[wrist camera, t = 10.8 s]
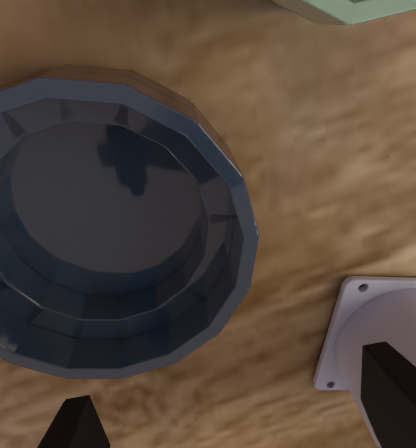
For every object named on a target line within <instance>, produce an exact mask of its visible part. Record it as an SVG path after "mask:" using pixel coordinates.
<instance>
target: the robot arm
mask: <svg viewBox="0 0 416 448" xmlns="http://www.w3.org/2000/svg"><path fill="white" fill-rule="evenodd" d="M361 284H364V285H363V286H362V287H359V286H360V285H361ZM358 287H359V288H358ZM313 384H314V386H315V388H316V389H318V390H349V391H350V393H351V395H352V397H353V399H354V401H355V403H356V405H357V407H358V409H359V411H360V413H361V415H362V417H363V419H364V421H365V423H366V425H367V427H368V429H369V431H370V433H371V435H372V437H373V439H374V441H375V443H376V445H377V447H378V448H416V278H407V277H376V276H350V277H347V278H346V279H345V280H344V281H343V283H342V285H341V289H340V292H339V295H338V299H337V302H336V305H335V309H334V312H333V315H332V319H331V322H330V325H329V329H328V332H327V335H326V339H325V342H324V345H323V348H322V352H321V355H320V358H319V362H318V365H317V368H316V372H315V375H314V378H313ZM37 448H110V443H109V441H108V438H107V436H106V434H105V431H104V429H103V427H102V424H101V422H100V419H99V417H98V415H97V412H96V410H95V408H94V405H93V403H92V400H91V398H90V396H89V395H87V396H82V397H76V398H71V399H66V400H65V401H64V403H63V404H62V406H61V408H60V409H59V411H58V413H57V414H56V416H55V418H54V420H53V421H52V423H51V425H50V427H49V428H48V430H47V432H46V434H45V435H44V437H43V439H42V440H41V442H40V444H39V445H38V447H37Z"/></svg>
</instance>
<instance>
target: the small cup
mask: <svg viewBox="0 0 416 448" xmlns="http://www.w3.org/2000/svg"><path fill="white" fill-rule="evenodd" d="M270 1H271V2H273V3H275V4H277V5H279V6H282V7H285V8H287V9H289V10H291V11H293V12H294V13H296V14H298V15H300V16H302V17H304V18H306V19H308V20H310V21H311V22H313V23H315V24H328V25H353V24H357V23H361V22H365V21H369V20H373V19H377V18H381V17H386V16H390V15H394V14H398V13H402V12H406V11H410V10H414V9H416V0H270Z"/></svg>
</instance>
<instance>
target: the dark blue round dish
mask: <svg viewBox="0 0 416 448" xmlns="http://www.w3.org/2000/svg"><path fill="white" fill-rule="evenodd" d="M258 239H259V232H258V228H257V224H256V221H255V217H254V213H253V210H252V206H251V202H250V199H249V195H248V192H247V188H246V184H245V181H244V177H243V175H242V173H241V171H240V169H239V167H238V165H237V163H236V161H235V159H234V157H233V155H232V153H231V151H230V149H229V147H228V145H227V144H226V143H225V142H224V140H223V139H222V138H221V137H220V135H219V134H218V133H217V132H216V131H215V129H214V128H213V127H212V126H211V125H210V123H209V122H208V121H207V120H206V118H205V117H204V116H203V115H202V114H201V112H200V111H199V110H198V109H197V107H196V106H195V105H194V104H193V103H192V102H191V101H190V100H188V99H186V98H185V97H183V96H181V95H179V94H177V93H175V92H173V91H171V90H170V89H168V88H166V87H164V86H162V85H160V84H158V83H156V82H155V81H153V80H151V79H149V78H147V77H145V76H143V75H141V74H139V73H138V72H135V71H133V70H124V69H113V68H103V67H92V66H82V65H71V64H68V65H63V66H60V67H57V68H54V69H52V70H49V71H46V72H43V73H40V74H37V75H34V76H31V77H28V78H25V79H22V80H19V81H16V82H13V83H10V84H7V85H5V86H3V87H0V358H1V359H2V360H4V361H6V362H7V361H8V363H11V364H15V365H18V366H22V367H25V368H29V369H33V370H36V371H40V372H43V373H47V374H51V375H54V376H58V377H61V378H66V379H122V378H126V377H129V376H133V375H136V374H140V373H143V372H146V371H150V370H153V369H157V368H160V367H163V366H167V365H170V364H174V363H175V362H178V361H180V360H181V359H183V358H184V357H186V356H187V355H188V354H190V353H191V352H193V351H194V350H196V349H197V348H199V347H200V346H202V345H203V344H204V343H206V342H207V341H209V340H210V339H212V338H213V337H215V336H216V335H217V334H219V333H220V332H221V331H222V329H223V328H224V326H225V325H226V323H227V322H228V320H229V319H230V317H231V316H232V314H233V313H234V311H235V310H236V309H237V307H238V306H239V304H240V303H241V301H242V300H243V298H244V297H245V295H246V294H247V292H248V291H249V288H250V284H251V279H252V273H253V267H254V262H255V256H256V251H257V245H258Z"/></svg>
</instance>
